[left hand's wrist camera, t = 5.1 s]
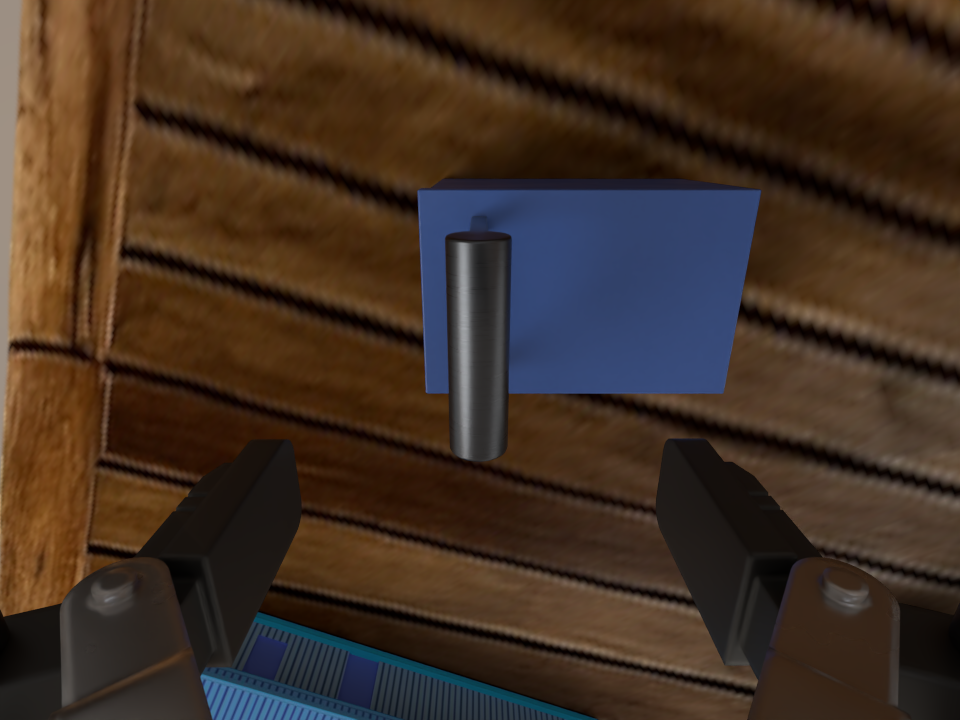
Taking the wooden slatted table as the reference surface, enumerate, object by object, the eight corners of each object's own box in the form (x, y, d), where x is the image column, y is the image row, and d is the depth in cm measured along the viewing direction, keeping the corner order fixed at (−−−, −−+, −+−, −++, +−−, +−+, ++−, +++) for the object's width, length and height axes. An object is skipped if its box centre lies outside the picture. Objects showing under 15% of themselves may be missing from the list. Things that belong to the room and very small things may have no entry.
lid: (427, 385, 28) (405, 485, 19) (419, 187, 24) (388, 206, 16) (715, 385, 28) (815, 485, 19) (751, 187, 24) (893, 207, 16)
